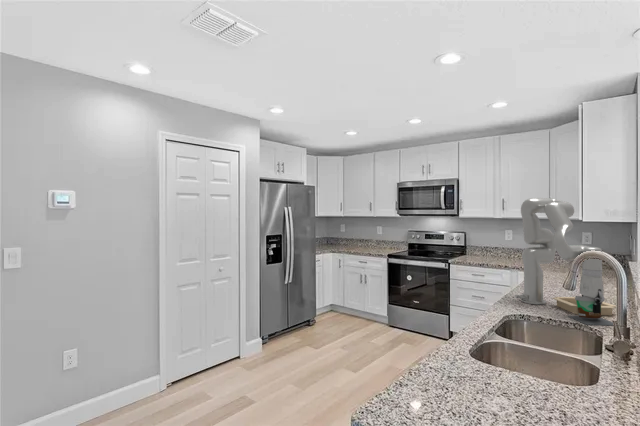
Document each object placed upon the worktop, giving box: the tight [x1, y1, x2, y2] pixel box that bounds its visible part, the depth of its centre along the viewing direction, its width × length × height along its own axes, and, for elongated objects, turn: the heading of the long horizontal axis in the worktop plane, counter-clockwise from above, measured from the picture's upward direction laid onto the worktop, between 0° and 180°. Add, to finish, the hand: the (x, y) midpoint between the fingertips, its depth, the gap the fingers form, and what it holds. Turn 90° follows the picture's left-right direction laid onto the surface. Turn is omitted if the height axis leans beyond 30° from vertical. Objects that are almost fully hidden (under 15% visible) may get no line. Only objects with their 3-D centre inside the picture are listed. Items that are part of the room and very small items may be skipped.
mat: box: [567, 315, 614, 327], centre depth 168 cm, size 14×14×1 cm
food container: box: [574, 295, 602, 318], centre depth 167 cm, size 12×6×10 cm, turn 96°
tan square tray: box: [552, 296, 617, 316], centre depth 186 cm, size 22×22×4 cm
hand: (591, 310), depth 168 cm, fingers closed on food container, 5 cm apart
